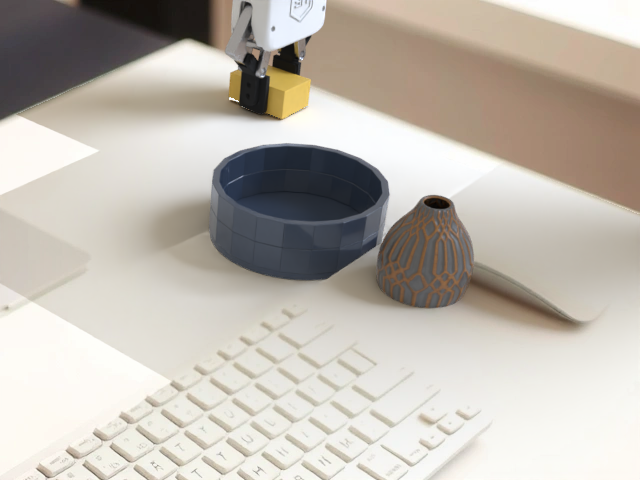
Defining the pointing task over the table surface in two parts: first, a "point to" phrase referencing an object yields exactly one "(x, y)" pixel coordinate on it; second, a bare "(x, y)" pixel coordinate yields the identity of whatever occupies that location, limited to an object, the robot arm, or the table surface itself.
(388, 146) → the table surface
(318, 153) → the bowl
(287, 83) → the yellow block
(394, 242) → the vase
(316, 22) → the robot arm
